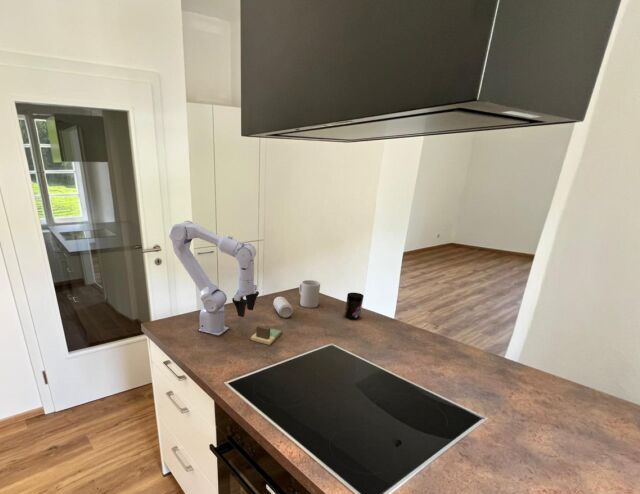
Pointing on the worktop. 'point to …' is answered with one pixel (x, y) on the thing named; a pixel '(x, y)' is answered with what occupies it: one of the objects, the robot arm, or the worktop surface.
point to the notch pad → (275, 333)
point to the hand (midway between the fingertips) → (245, 312)
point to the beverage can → (283, 307)
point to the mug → (309, 293)
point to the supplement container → (353, 306)
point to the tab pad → (263, 335)
